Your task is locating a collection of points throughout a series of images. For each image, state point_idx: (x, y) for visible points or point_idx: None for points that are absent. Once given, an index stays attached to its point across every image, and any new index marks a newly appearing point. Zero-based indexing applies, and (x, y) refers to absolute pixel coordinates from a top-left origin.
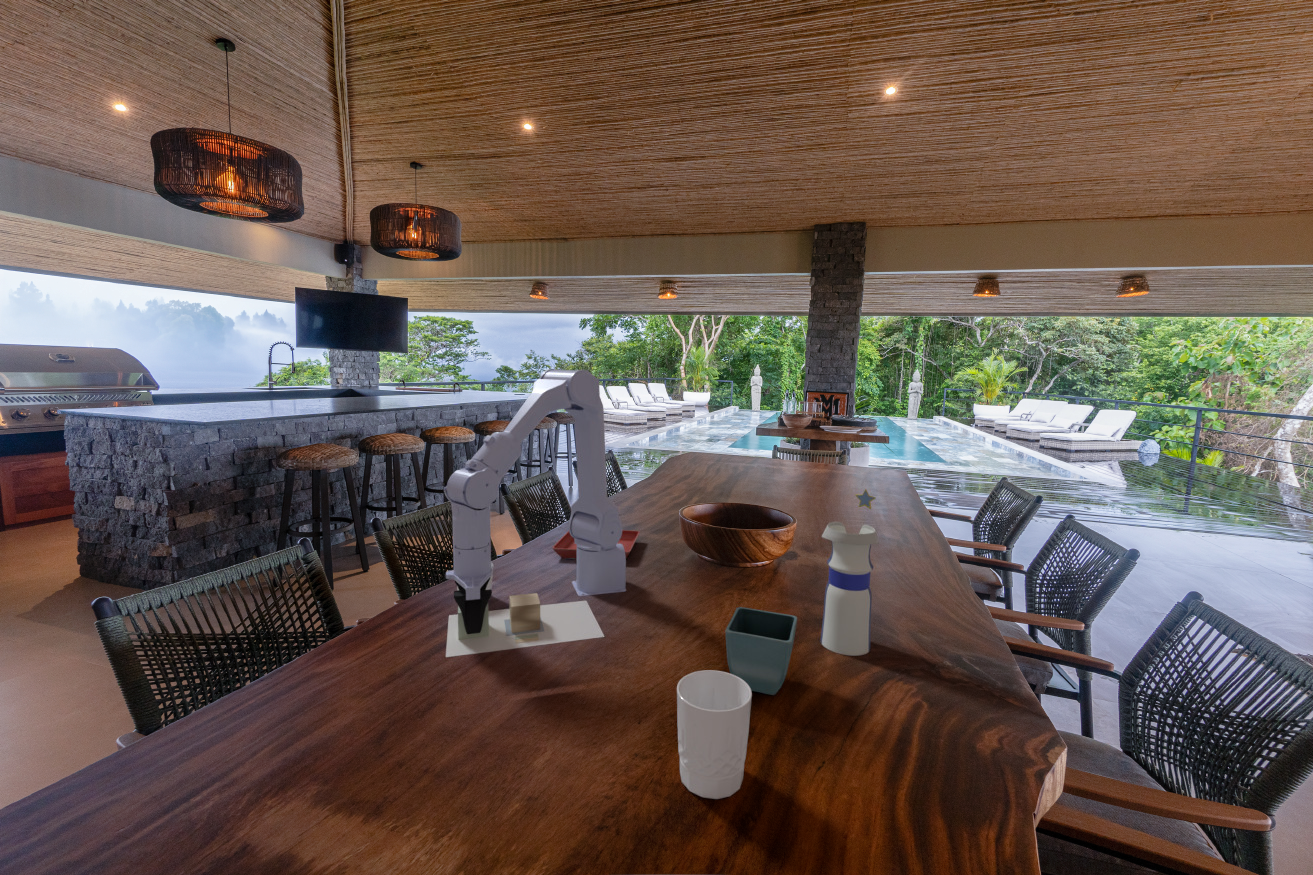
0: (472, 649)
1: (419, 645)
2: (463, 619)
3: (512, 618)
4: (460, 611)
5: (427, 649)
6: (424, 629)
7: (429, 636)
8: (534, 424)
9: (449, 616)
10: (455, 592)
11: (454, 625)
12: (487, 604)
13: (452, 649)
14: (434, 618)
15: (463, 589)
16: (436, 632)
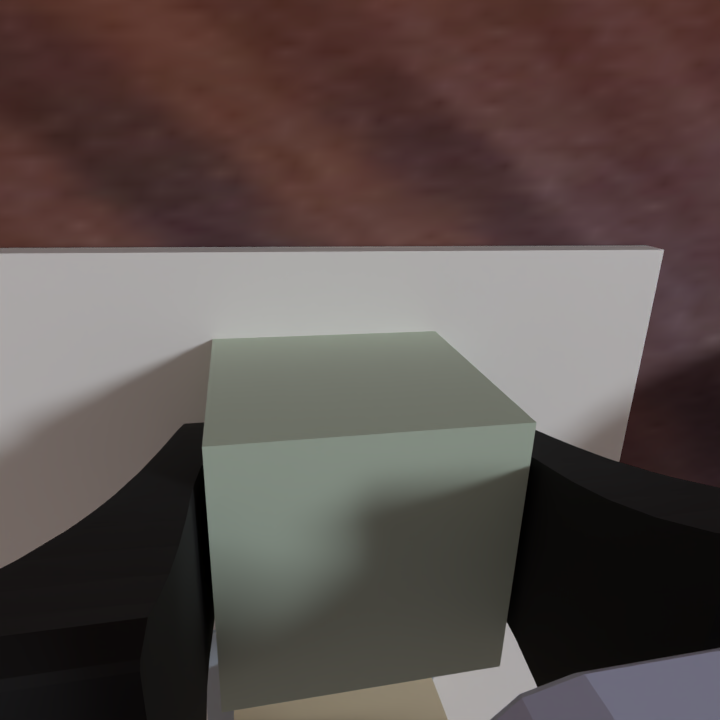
0: (12, 448)
1: (250, 14)
2: (131, 479)
3: None
4: (242, 469)
5: (156, 88)
6: (540, 56)
7: (399, 101)
8: None
9: (642, 254)
10: (5, 716)
11: (472, 298)
12: (355, 686)
13: (35, 303)
14: (697, 136)
15: (621, 555)
16: (452, 158)
